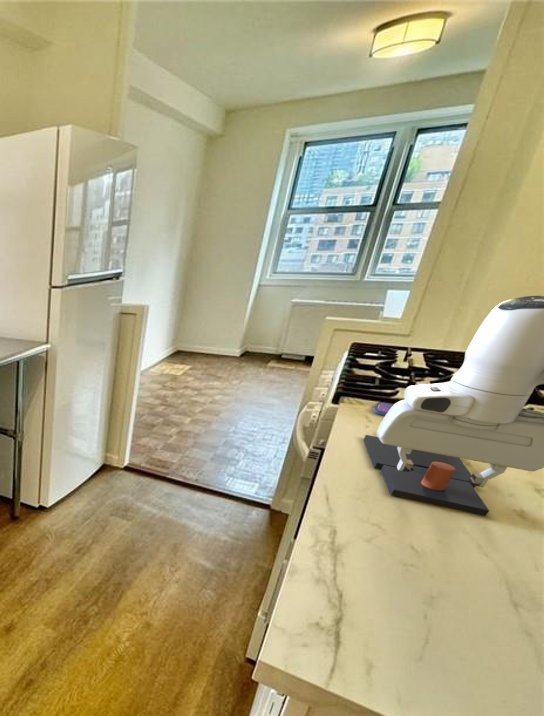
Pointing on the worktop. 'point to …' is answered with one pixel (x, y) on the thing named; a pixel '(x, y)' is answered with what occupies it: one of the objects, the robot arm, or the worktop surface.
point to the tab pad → (429, 496)
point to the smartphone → (382, 408)
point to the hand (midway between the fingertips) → (438, 477)
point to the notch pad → (411, 458)
